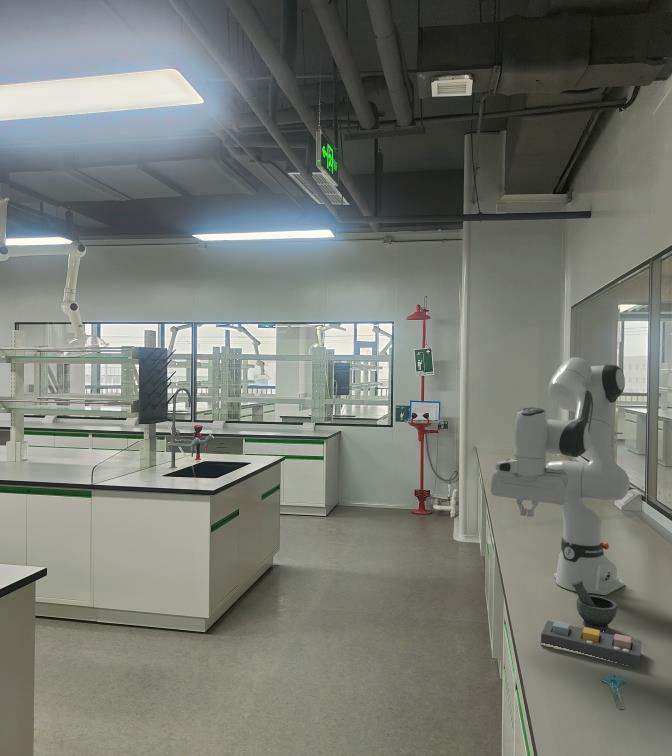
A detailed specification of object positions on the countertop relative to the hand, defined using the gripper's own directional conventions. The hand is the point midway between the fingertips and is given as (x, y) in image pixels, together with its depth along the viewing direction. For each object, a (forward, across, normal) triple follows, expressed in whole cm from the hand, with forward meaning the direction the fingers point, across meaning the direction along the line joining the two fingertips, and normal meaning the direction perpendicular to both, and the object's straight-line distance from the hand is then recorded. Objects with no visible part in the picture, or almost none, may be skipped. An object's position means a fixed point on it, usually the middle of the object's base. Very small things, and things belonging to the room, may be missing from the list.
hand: (526, 515), depth 175 cm
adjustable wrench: (+28, -26, +34) cm, 51 cm away
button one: (+25, -19, +15) cm, 35 cm away
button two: (+25, -26, +15) cm, 39 cm away
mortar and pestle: (+27, -18, 0) cm, 33 cm away
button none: (+25, -12, +15) cm, 31 cm away
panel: (+27, -19, +15) cm, 36 cm away
